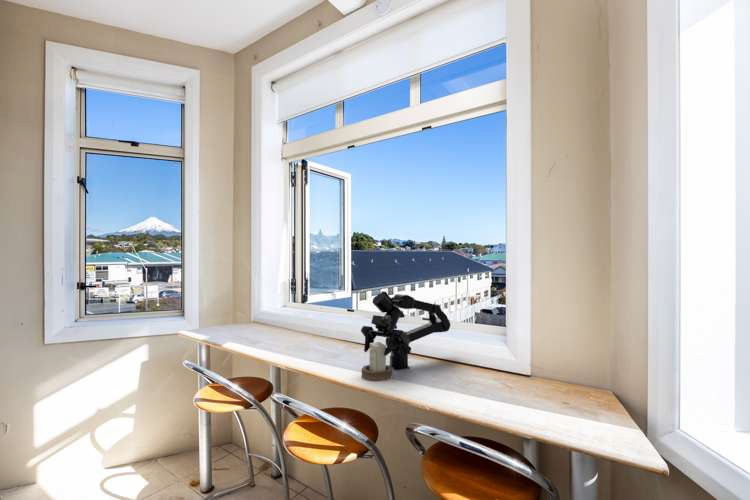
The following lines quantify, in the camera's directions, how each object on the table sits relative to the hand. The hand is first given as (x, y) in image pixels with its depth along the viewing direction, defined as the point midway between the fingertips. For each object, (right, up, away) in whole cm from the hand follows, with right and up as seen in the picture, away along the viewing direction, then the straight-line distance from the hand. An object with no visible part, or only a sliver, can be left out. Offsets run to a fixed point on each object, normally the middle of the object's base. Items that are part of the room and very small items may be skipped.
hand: (374, 353), depth 138 cm
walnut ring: (+1, -9, +1) cm, 9 cm away
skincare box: (+1, -9, +1) cm, 9 cm away
